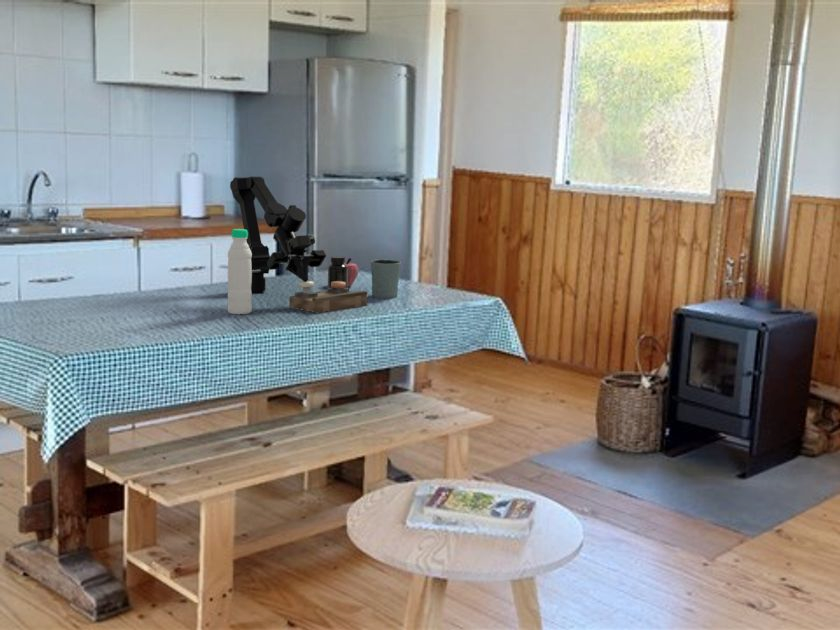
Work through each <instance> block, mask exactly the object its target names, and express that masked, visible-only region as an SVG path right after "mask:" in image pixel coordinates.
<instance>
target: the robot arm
mask: <svg viewBox="0 0 840 630" xmlns="http://www.w3.org/2000/svg"><path fill="white" fill-rule="evenodd" d="M229 188H230V190H231V193H232V197H233V199H234V200H235V201H236V202H237V204H239V210H240V214H241V219H242V226H243V229H245V230H247V231H248V237H247V239H246V242H247V244H248V246H249V248H250V250H251V253H252V257H251V264H252V282H251V292H252V293H253V294H256V293H257V294H264V292H265V291H266V289H267V288H266V287H267V283H266V281H267V279H266V276H265V274H266V275H267V274H269V273H270V271H271V270H272V271H273V270H278V268H279V267H280V265H279V264H281V265H282V264H286V266H285V271H286V272H287V271H289V272H290V273H292V274H293V275H295V276H296V277H297V278H299V279H300V280H301V281H304V282H307V281H309V269H308V267H310V268H318V267H321V265H322V264H323V263H324V261H325V259H326V258H327V254H326V251H325V250H324V249H313V250H311V252H310V254H305V253H307V251H308V248H309V247H311V246H312V245H314V244H315V243H316V238H315V236H314V235H313V234H312V233H307V235H297V234H296V232H298V231H300V228H301V227H302V225H303V223H304V222H305V220H306V218H307V215H306V212H305V211H303V210H302V209H301V208H299V207H297V205H295V204H290V205H289V206H288V208H287V207H286V206H285V205H284V204H281V203H279V202H278V201H277V200H276V198H275V196H274V194H273V193H272V192H271V190H270V189H269V188H268V186H267V185H266V183H265V178H264V177H262V176H249V177H247V176H246V177H245V176H244V177H239V176H238V177H236V176H235V177H233V179H232V180H231V181H230V182H229ZM255 199H256V200H257V201H258V204H260V206H261V208H262V209H263V211H264V215H263V218H264V220H265V223H266V225H267V226H268V227H269V228H275V229H276V230H275V231H274V234H273V237H272V239H273V240H277V241H278V242H279V244H280V247H281V248H280V250H279V251H274V252H272V253H271V254H270V249H269V247H268V245H264V244H263V242H262V240H261V239H262V238H261V234H260V227H259V222H258V217H257V212H256V205H255Z"/></svg>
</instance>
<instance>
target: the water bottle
mask: <svg viewBox="0 0 840 630" xmlns="http://www.w3.org/2000/svg"><path fill="white" fill-rule="evenodd" d="M247 237H248V231H247V230H245V229H244V228H234V229H232V230H231V238H232V243H231V244H230V248H229V249H228V251H227V258H228V259H227V260H228V261H227V287H228V289H227V300H228V301H227V312H228V313H229V314H231V315H236V314H237V315H239V316H241V315H242V314H243V315H248V314H251V313H252V310H253V309H252V307H253V305H252V296H253V295H252V292H251V282H252V264H251V257H252V253H251V250H250V248H249V246H248V244H247V242H246V239H247ZM240 314H241V315H240ZM237 315H236V316H237Z"/></svg>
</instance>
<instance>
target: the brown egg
mask: <svg viewBox="0 0 840 630" xmlns="http://www.w3.org/2000/svg"><path fill="white" fill-rule="evenodd" d="M331 287H334V288H335V289H341V288H344V287H346V282H341V281H334V282H331Z"/></svg>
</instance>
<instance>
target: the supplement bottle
mask: <svg viewBox="0 0 840 630" xmlns="http://www.w3.org/2000/svg"><path fill="white" fill-rule="evenodd" d="M344 263H346V258H345V256H331V257H330V264H329V265H328V266H327V288H332V287H331V282H334V281H341V282H346V287H344V288H348V287H349V286H348V267H347V266H346V265H345V264H344ZM348 289H349V288H348Z"/></svg>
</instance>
